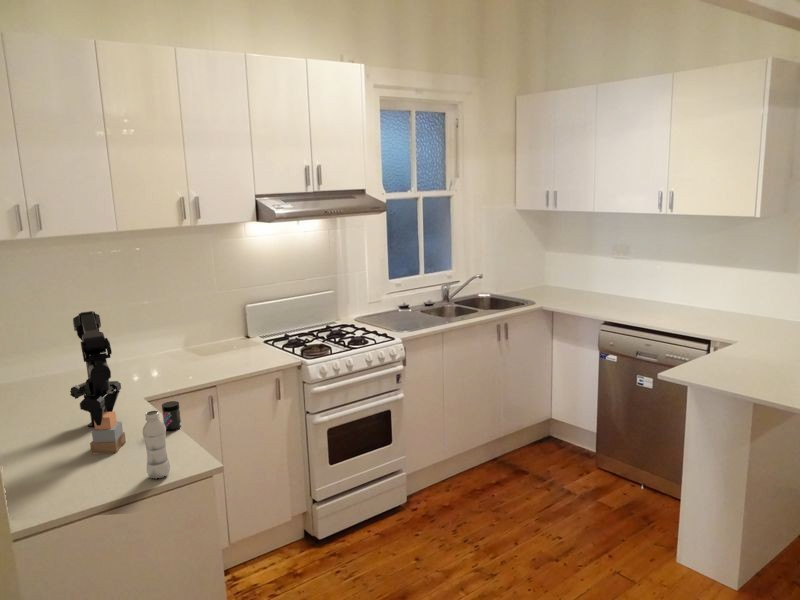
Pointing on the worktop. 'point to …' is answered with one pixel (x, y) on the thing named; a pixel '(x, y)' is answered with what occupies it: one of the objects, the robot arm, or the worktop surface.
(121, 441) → the walnut base block
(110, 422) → the terracotta block
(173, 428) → the supplement container
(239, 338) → the worktop surface
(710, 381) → the worktop surface
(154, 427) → the plastic bottle
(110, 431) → the slate top block
